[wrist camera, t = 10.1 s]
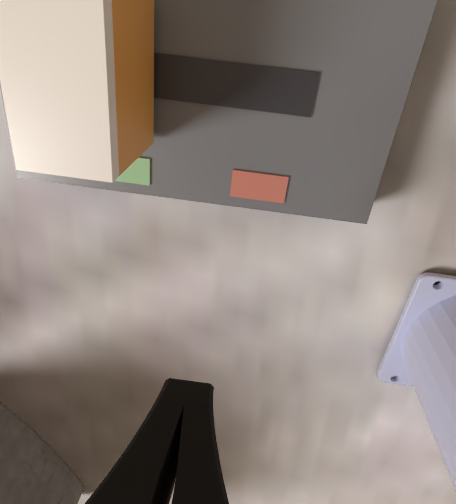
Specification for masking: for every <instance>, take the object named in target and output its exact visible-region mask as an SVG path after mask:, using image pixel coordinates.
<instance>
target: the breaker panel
mask: <svg viewBox="0 0 456 504" xmlns="http://www.w3.org/2000/svg"><path fill="white" fill-rule="evenodd" d="M436 4H437V0H154V143H153V144H152V145H151V146H150V147H149V148H148V149H147V150H146V151H145V152H144V153H143V154H142V155H141V156H140V157H139V158H138V159H136V160H135V161H134V162H133V163H132V164H131V165H130V166H129V167H128V168H127V169H126V170H125V171H124V172H123V173H122V174H121V175H120V176H119V177H118V178H117V179H116V180H115V181H114V182H113V183H111V182H103V181H96V180H88V179H81V178H73V177H66V176H58V175H50V174H43V173H35V172H28V171H20V170H16V175H17V178H24V179H31V180H39V181H46V182H54V183H62V184H69V185H77V186H84V187H92V188H99V189H107V190H114V191H122V192H129V193H137V194H144V195H152V196H159V197H167V198H174V199H182V200H190V201H197V202H205V203H212V204H220V205H227V206H235V207H242V208H250V209H257V210H265V211H272V212H280V213H287V214H295V215H303V216H310V217H318V218H325V219H333V220H340V221H348V222H355V223H363V224H367V221H368V218H369V215H370V212H371V209H372V206H373V202H374V199H375V196H376V193H377V190H378V187H379V183H380V180H381V177H382V174H383V171H384V168H385V165H386V161H387V158H388V155H389V152H390V149H391V146H392V142H393V139H394V136H395V133H396V130H397V127H398V124H399V120H400V117H401V114H402V111H403V108H404V105H405V101H406V98H407V95H408V92H409V89H410V86H411V83H412V79H413V76H414V73H415V70H416V67H417V64H418V60H419V57H420V54H421V51H422V48H423V45H424V41H425V38H426V35H427V32H428V29H429V26H430V23H431V19H432V16H433V13H434V10H435V7H436ZM0 87H1V84H0ZM1 93H2V89H1ZM2 98H3V95H2ZM3 104H4V100H3ZM4 109H5V106H4ZM5 115H6V111H5ZM6 120H7V117H6ZM7 126H8V122H7ZM8 131H9V128H8ZM9 137H10V133H9ZM10 142H11V139H10ZM11 148H12V144H11ZM12 153H13V150H12ZM13 159H14V155H13ZM14 164H15V161H14ZM15 169H16V166H15Z"/></svg>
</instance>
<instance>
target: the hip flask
mask: <svg viewBox="0 0 456 504" xmlns="http://www.w3.org/2000/svg"><path fill="white" fill-rule="evenodd" d="M82 491H83V485H82V483H81V482H80V480H79V479H78V478H77V476H76V475H75V474H74V473H73V471H72V470H71V469H70V468H69V466H68V465H67V464H66V463H65V462H64V461H63V460H62V459H61V457H60V456H59V455H58V454H57V453H56V452H55V451H54V450H53V449H52V448H51V447H50V446H49V445H48V444H47V443H46V442H45V441H44V440H43V439H42V438H41V437H40V436H38V435H37V434H36V433H35V432H34V431H33V430H32V429H31V428H30V427H29V426H28V425H26V424H25V423H24V422H23V421H22V420H21V419H20V418H18V417H17V416H16V415H15V414H13V413H12V412H11V411H10V410H9V409H7V408H6V407H5V406H4V405H2V404H1V403H0V504H77V503H78V501H79V499H80V496H81V494H82Z"/></svg>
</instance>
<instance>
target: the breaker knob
mask: <svg viewBox="0 0 456 504" xmlns="http://www.w3.org/2000/svg"><path fill="white" fill-rule="evenodd" d="M0 84H1V89H2V95H3V100H4V106H5V111H6V117H7V122H8V128H9V133H10V139H11V144H12V150H13V155H14V161H15V166H16V170H20V171H28V172H35V173H43V174H50V175H58V176H66V177H73V178H81V179H88V180H96V181H103V182H111V183H113V182H114V181H115V180H116V179H117V178H118V177H119V176H120V175H121V174H122V173H123V172H124V171H125V170H126V169H127V168H128V167H129V166H130V165H131V164H132V163H133V162H134V161H135V160H136V159H138V158H139V157H140V156H141V155H142V154H143V153H144V152H145V151H146V150H147V149H148V148H149V147H150V146H151V145H152V144H153V143H154V0H0Z"/></svg>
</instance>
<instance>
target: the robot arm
mask: <svg viewBox="0 0 456 504" xmlns="http://www.w3.org/2000/svg"><path fill="white" fill-rule="evenodd" d="M437 281H440V283H439V284H437V285H433V284H434V283H435V282H437ZM392 376H394V377H392ZM377 377H378V379H379V381H381V382H384V383H390V384H397V385H404V386H411V387H414V389H415V392H416V394H417V397H418V399H419V402H420V404H421V407H422V409H423V412H424V414H425V417H426V419H427V421H428V424H429V426H430V429H431V431H432V434H433V436H434V439H435V441H436V444H437V446H438V449H439V451H440V454H441V456H442V459H443V461H444V464H445V466H446V468H447V471H448V473H449V476H450V478H451V481H452V483H453V486H454V488H455V491H456V276H452V275H444V274H437V273H430V272H429V273H423V274H421V275H419V276H418V278H417V279H416V281H415V284H414V286H413V288H412V291H411V293H410V296H409V298H408V300H407V303H406V305H405V307H404V310H403V312H402V314H401V317H400V319H399V322H398V324H397V326H396V329H395V331H394V333H393V336H392V338H391V340H390V343H389V345H388V347H387V350H386V352H385V355H384V357H383V359H382V362H381V364H380V366H379V369H378V371H377ZM213 389H214V387H213V386H212V385H211V384H208V383H201V382H193V381H186V380H179V379H171V378H169V379H167V380H166V381H165V383H164V385H163V388H162V390H161V392H160V394H159V396H158V398H157V400H156V401H155V403H154V405H153V407H152V409H151V410H150V412H149V414H148V415H147V417H146V419H145V420H144V422H143V424H142V425H141V427H140V428H139V430H138V431H137V433H136V435H135V436H134V438H133V439H132V441H131V442H130V444H129V445H128V447H127V448H126V450H125V451H124V453H123V454H122V455H121V457H120V458H119V459H118V461H117V462H116V464H115V465H114V466H113V468H112V469H111V471H110V472H109V473H108V475H107V476H106V477H105V479H104V480H103V481H102V483H101V484H100V485H99V487H98V488H97V489H96V490H95V492H94V493H93V494H92V495H91V497H90V498H89V499H88V500H87V501H86V503H85V504H169V502H170V498H171V494H172V490H173V487H174V483H175V488H174V494H173V499H172V504H229V502H228V498H227V494H226V489H225V485H224V480H223V476H222V471H221V466H220V460H219V454H218V448H217V442H216V435H215V427H214V416H213ZM175 479H176V481H175Z"/></svg>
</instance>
